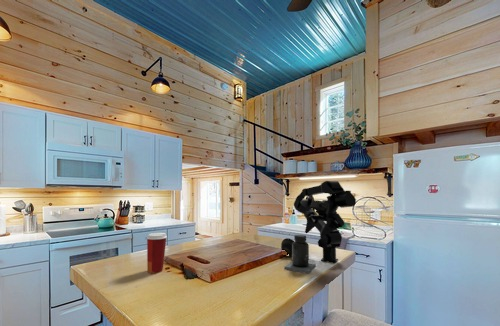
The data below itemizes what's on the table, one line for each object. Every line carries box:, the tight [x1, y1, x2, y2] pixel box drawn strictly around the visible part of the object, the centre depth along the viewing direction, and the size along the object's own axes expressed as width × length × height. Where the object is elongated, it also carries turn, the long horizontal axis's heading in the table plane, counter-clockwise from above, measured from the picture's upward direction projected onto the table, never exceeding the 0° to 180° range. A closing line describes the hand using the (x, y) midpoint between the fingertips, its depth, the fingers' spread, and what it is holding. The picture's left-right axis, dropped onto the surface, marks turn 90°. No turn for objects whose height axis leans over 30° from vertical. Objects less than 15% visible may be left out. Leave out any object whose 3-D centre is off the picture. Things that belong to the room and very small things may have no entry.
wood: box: [183, 268, 200, 280], centre depth 98 cm, size 22×7×3 cm, turn 21°
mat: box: [283, 261, 317, 275], centre depth 101 cm, size 10×10×1 cm
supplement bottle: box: [291, 234, 310, 267], centre depth 102 cm, size 7×7×12 cm
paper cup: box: [145, 232, 168, 274], centre depth 96 cm, size 8×8×14 cm
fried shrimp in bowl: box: [280, 237, 295, 257], centre depth 123 cm, size 9×11×18 cm
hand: (313, 233), depth 103 cm, fingers open, 9 cm apart
